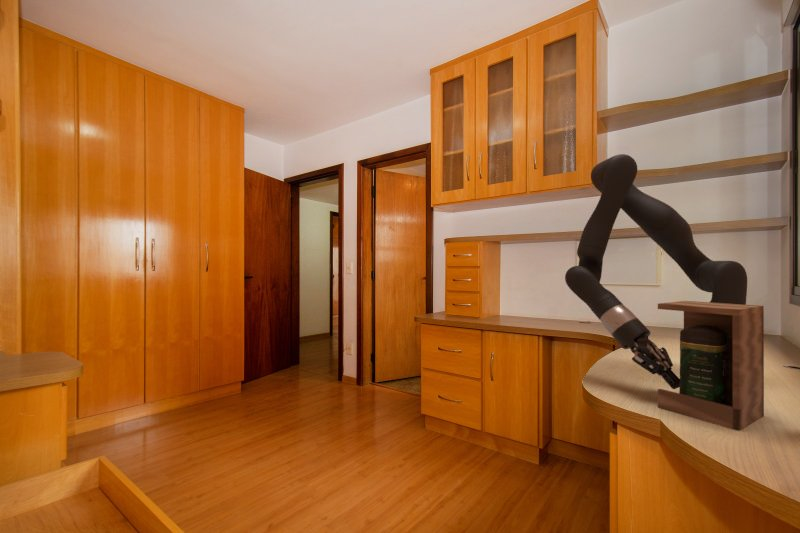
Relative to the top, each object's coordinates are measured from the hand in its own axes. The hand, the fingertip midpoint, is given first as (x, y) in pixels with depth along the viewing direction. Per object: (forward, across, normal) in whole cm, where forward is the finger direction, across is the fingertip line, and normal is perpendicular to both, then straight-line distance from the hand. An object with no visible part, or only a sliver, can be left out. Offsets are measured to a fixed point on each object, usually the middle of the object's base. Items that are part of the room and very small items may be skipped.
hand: (678, 386), depth 85 cm
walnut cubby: (+7, 0, -1) cm, 7 cm away
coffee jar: (+6, 0, 0) cm, 6 cm away
